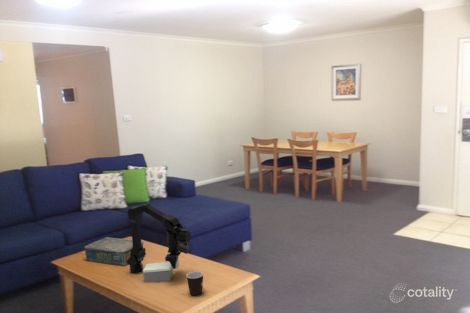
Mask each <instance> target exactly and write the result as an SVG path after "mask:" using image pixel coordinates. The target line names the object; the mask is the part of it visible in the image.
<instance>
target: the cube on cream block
mask: <svg viewBox="0 0 470 313" xmlns="http://www.w3.org/2000/svg"><path fill="white" fill-rule="evenodd" d="M170 269H173V267H172V265H171V264H170V262H169V261H164V262H163V261H162V262H151V263H146V264H145V266H144V267H143V271H142V273H143V274H144V273H146V272H158V271H170ZM176 269H180V260H179V258H178V259H177V261H176V268H175V269H173V270H176Z"/></svg>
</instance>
